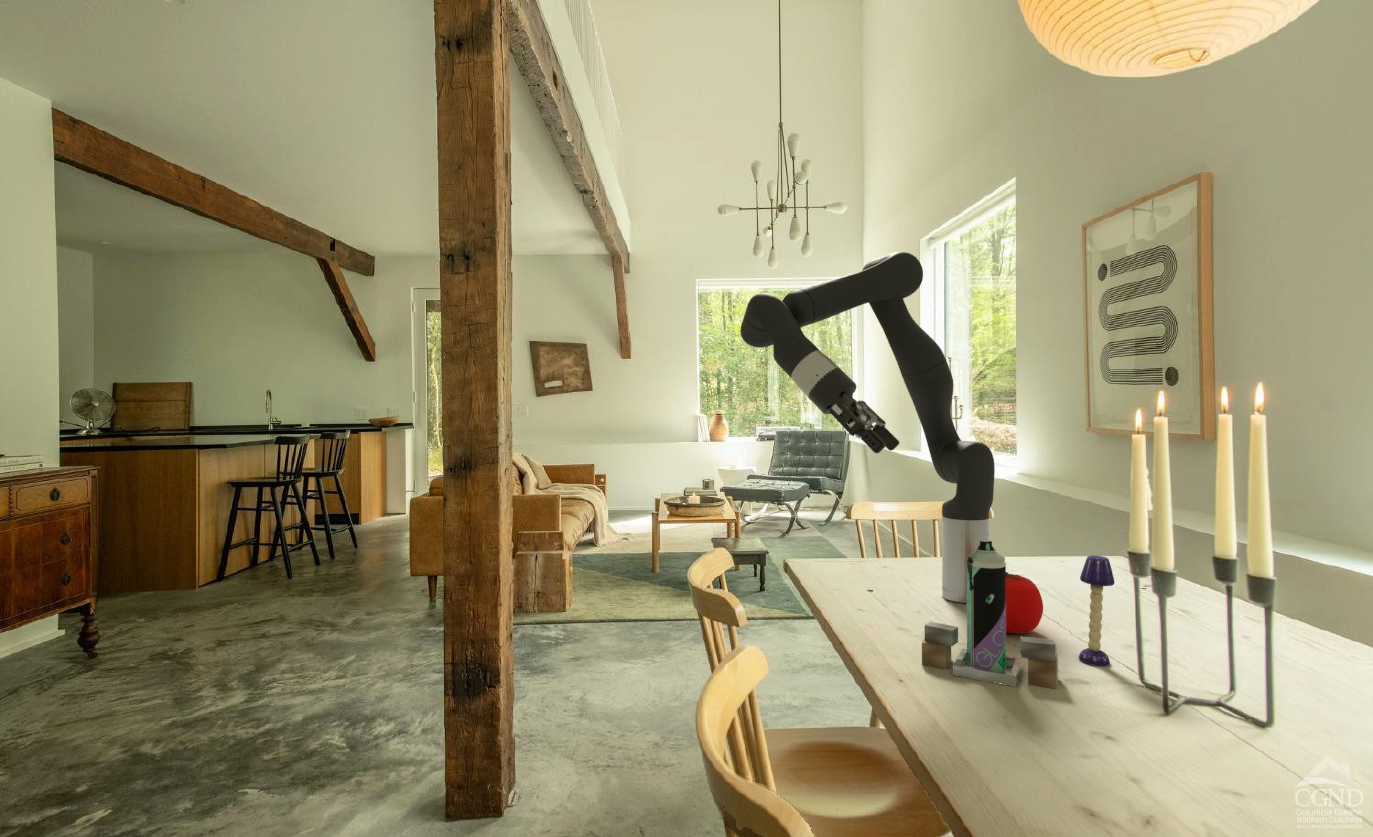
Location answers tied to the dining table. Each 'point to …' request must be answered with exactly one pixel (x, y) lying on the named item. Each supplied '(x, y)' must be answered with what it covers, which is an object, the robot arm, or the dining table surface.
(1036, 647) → the stand
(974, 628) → the spray can
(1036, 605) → the tomato
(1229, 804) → the dining table surface
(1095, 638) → the toy lamp
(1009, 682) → the socket collar
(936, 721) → the dining table surface
